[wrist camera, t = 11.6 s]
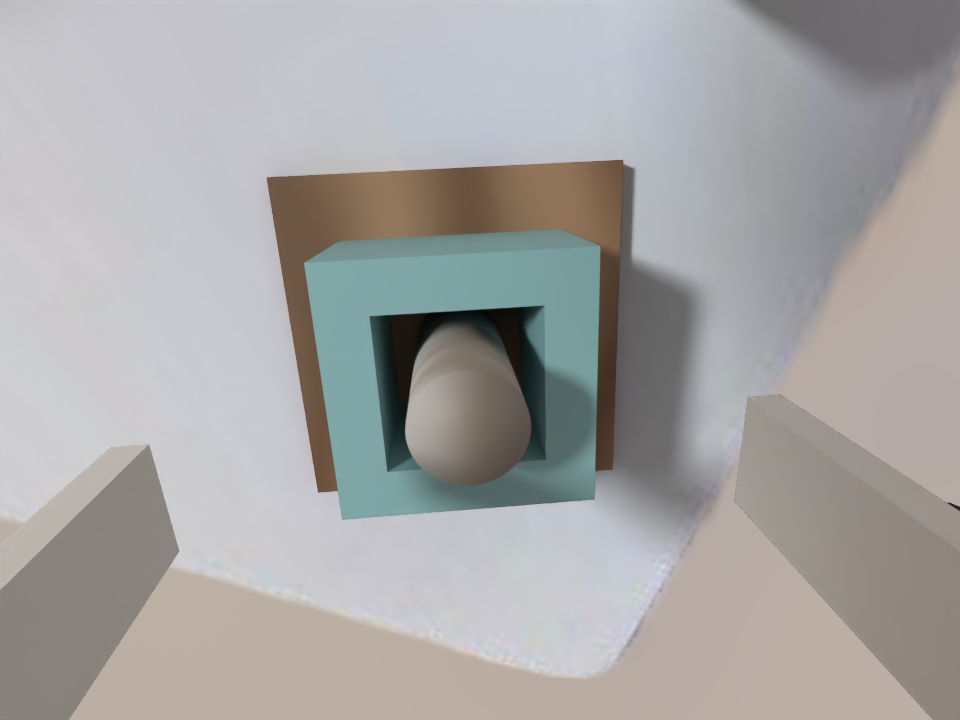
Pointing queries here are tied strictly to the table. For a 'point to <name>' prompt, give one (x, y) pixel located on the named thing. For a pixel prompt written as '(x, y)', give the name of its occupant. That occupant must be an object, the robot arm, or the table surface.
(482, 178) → the post stand
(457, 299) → the collar
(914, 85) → the table surface
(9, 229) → the table surface
